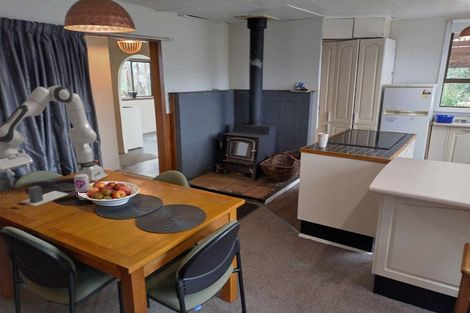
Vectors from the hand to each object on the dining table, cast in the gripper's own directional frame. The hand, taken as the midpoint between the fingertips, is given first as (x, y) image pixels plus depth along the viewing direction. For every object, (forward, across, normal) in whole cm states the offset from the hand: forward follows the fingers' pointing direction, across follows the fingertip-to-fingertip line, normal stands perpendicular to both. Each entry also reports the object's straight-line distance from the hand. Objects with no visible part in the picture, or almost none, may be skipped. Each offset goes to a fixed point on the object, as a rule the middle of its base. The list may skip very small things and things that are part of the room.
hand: (21, 173), depth 203 cm
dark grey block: (+20, -2, +2) cm, 21 cm away
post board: (+22, +4, +3) cm, 22 cm away
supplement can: (+35, +17, -10) cm, 40 cm away
